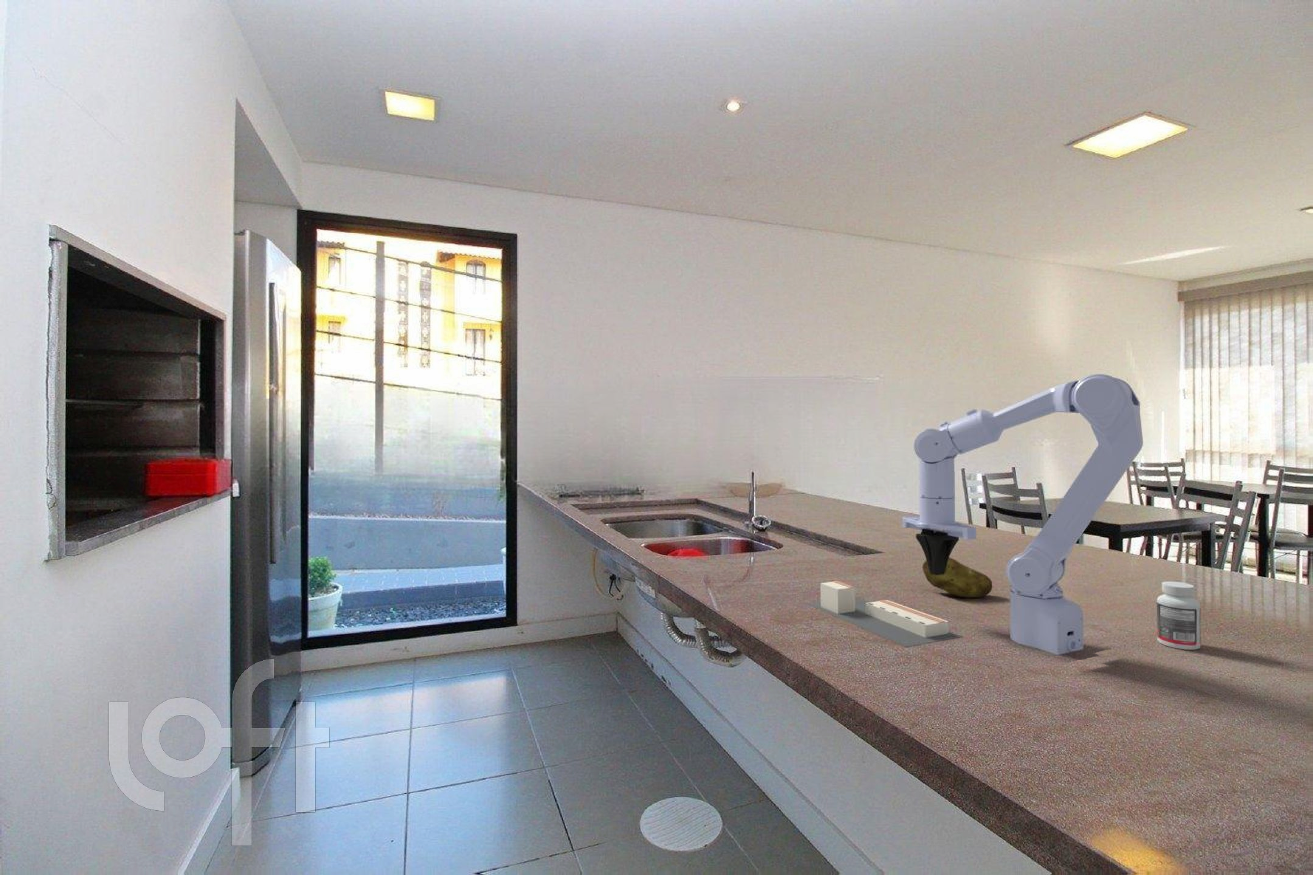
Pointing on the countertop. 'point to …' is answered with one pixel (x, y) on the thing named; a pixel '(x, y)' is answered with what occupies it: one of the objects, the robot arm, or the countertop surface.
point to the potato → (960, 580)
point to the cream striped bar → (907, 618)
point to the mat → (883, 626)
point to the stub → (838, 597)
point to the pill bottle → (1178, 616)
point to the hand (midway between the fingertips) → (937, 573)
